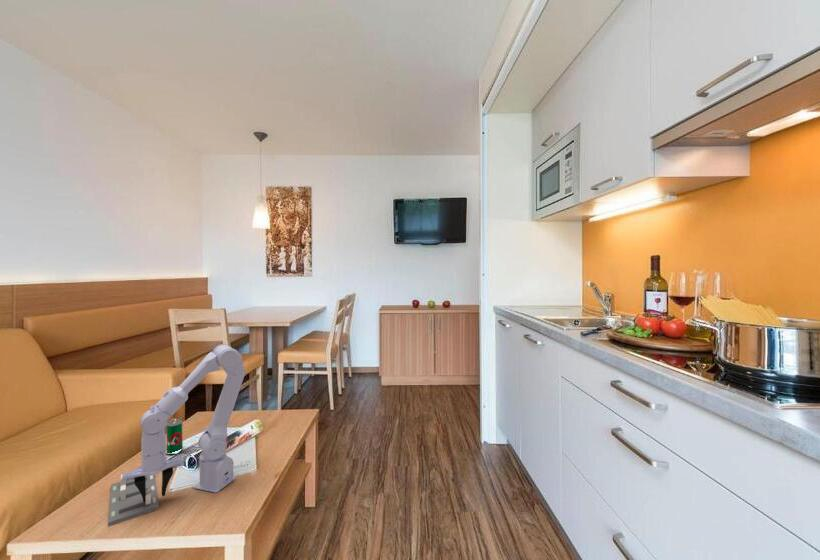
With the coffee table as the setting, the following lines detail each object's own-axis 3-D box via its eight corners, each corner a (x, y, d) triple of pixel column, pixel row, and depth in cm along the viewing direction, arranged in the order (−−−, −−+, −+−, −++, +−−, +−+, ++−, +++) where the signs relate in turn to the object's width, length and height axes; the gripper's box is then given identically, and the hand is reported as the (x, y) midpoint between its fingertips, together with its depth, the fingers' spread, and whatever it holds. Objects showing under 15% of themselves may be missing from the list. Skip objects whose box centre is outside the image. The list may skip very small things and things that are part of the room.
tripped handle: (150, 498, 103) (150, 489, 103) (150, 503, 100) (150, 493, 100) (145, 499, 102) (145, 490, 102) (145, 504, 100) (145, 495, 100)
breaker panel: (154, 474, 117) (154, 462, 117) (158, 508, 100) (158, 494, 100) (111, 487, 110) (111, 474, 110) (108, 526, 93) (108, 511, 93)
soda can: (185, 449, 134) (185, 418, 134) (175, 456, 129) (175, 424, 129) (173, 448, 135) (173, 417, 134) (163, 455, 129) (162, 423, 129)
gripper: (121, 465, 94) (122, 515, 94) (184, 449, 103) (185, 494, 104) (121, 455, 100) (122, 502, 100) (181, 440, 109) (182, 483, 109)
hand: (154, 497), depth 102 cm, fingers open, 4 cm apart
